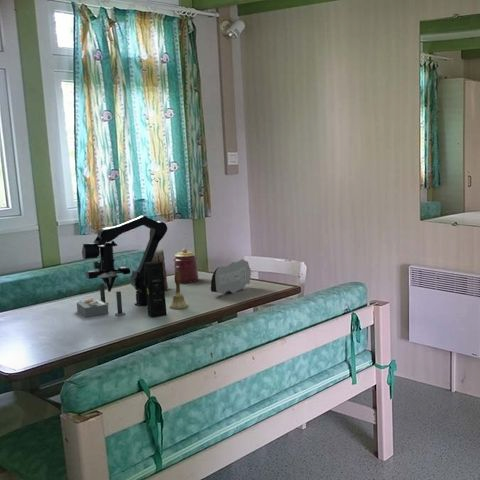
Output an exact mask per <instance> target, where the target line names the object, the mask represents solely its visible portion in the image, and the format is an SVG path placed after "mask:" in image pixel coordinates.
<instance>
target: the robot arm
mask: <svg viewBox="0 0 480 480" xmlns="http://www.w3.org/2000/svg"><path fill="white" fill-rule="evenodd" d="M143 226H144V227H146V228H148V229H149V240H148V242H147V244H146V247H145V250H144V251H143V252H144V255H142V258H141V260H140V263H139V266H138V267H137V269H136V270H134V269H132V272H131V269H130V267H128V266H118V267H117V268H115V257H114V247H117V246H118V244H117V243H116V242H115V241H114V240H115V239H116V238H118V237H119V236H120V235H122V234H124V233H127V232H130V231H132V230H134V229H137V228H139V227H143ZM167 231H168V226H167V224H166V223H165V222H164V221H156V220H155V219H152V218H150V217H148V216H146V215H139V216H138V217H136V218H133V219H131V220H127V221H126V222H123V223H121V224H117V225H114V226H107V227H103V228H100V229H99V230H98V231H97V236H96V237H95V240H94V241H93V242H90V243H82V248H81V249H82V250H81V254H82V259H83V260H90V259H98V257H99V256H100V257H99V258H100V259H99V261H94V262H93V270H86V271H85V278H87V279H89V280H90V279H91V280H93V279H97V278H99V279H101V280H102V281H103V283H104V286H105V287H106V290H107V292H108V293H109V292H111V291H112V288H113V285H114V283H115V280H116V279H117V278H119V275H118V274H123V275H130V274H131V276H129V279H130V282H129V283H130V285H131V287H134V289H135V300H136V301H135V302H136V303H134V305H135V306H144V307H145V306H146V307H147V294H146V286H145V285H144V272H145V269H144V263H146V262H152V259H153V257H154V254H155V251H157V248H158V246H159V244H160V241H161V240H162V239H163V238H164V237H165V235H166V233H167ZM97 270H98V271H97Z"/></svg>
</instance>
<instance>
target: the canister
mask: <svg viewBox="0 0 480 480" xmlns="http://www.w3.org/2000/svg"><path fill="white" fill-rule="evenodd" d="M174 257H175V258H173V259H172V261H173V262H174V263H173V264H174V265H173V270H174V271H173V272H174V275H175V273H176V271H179V274H180V282H187V283H191V282H190V281H194V282H196V281H195V280H197V279H198V280H199V270H198V262H197V260H198V257H197V256H196V253H194V252H193V251H188V249H187V248H182V250H181V251H179V252H176V254H174ZM174 279H175V276H174ZM198 280H197V281H198Z"/></svg>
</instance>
